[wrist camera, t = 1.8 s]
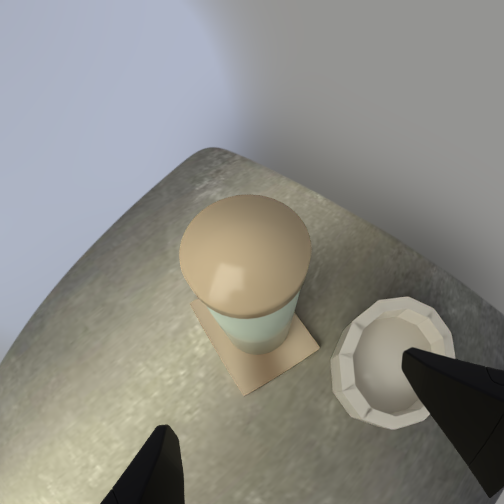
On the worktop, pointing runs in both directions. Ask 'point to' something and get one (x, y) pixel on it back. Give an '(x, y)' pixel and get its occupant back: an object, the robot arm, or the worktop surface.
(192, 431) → the worktop surface
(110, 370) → the worktop surface
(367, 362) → the bowl
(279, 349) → the cork coaster
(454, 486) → the worktop surface
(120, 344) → the worktop surface
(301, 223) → the spice jar
